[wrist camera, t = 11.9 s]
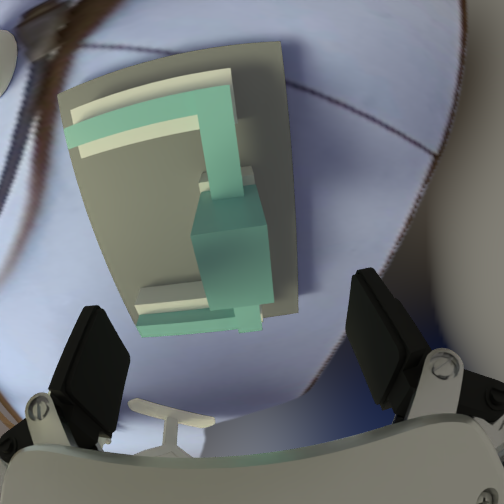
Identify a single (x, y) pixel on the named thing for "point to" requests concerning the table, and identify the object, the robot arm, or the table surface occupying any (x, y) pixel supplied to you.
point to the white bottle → (7, 59)
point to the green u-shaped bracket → (207, 215)
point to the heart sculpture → (169, 426)
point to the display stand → (183, 173)
